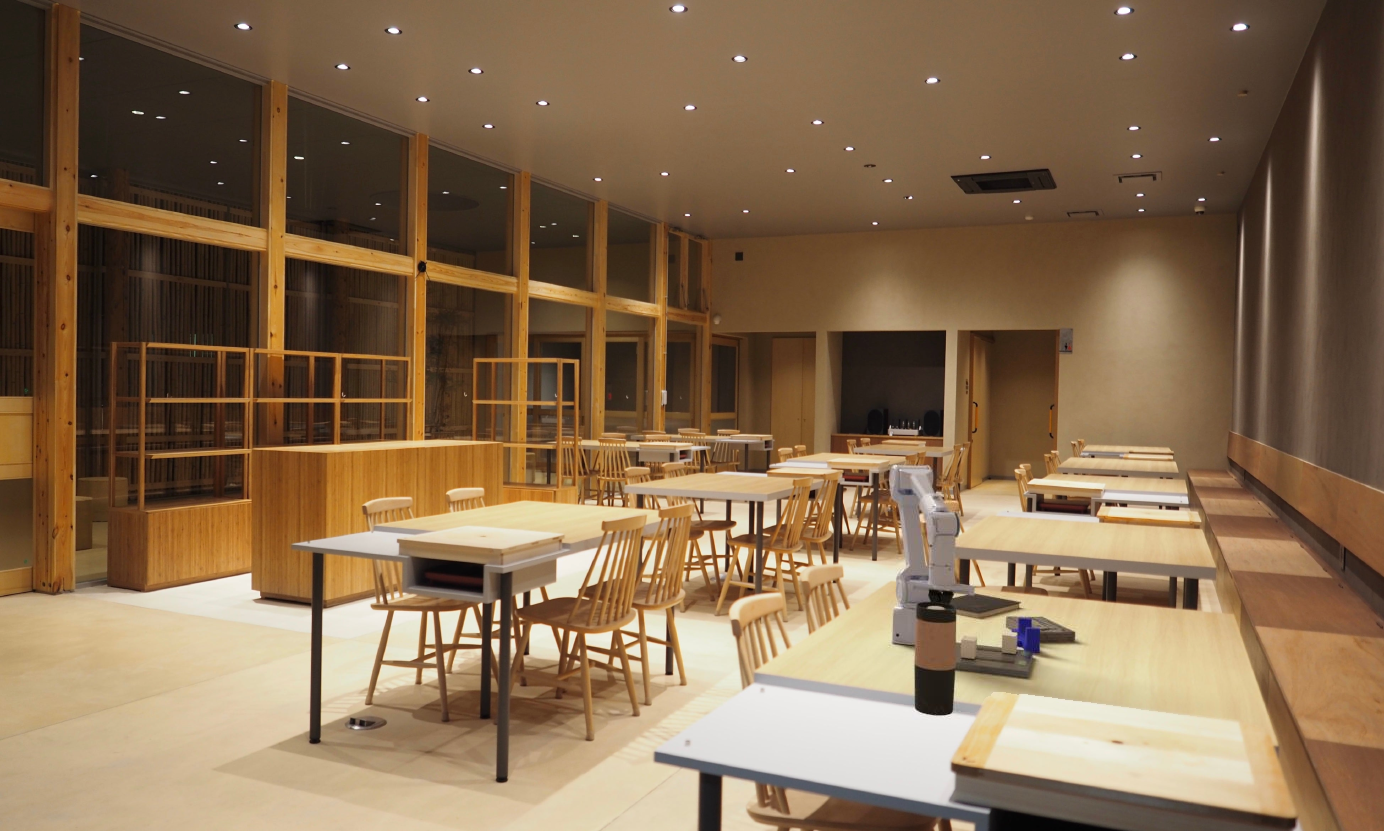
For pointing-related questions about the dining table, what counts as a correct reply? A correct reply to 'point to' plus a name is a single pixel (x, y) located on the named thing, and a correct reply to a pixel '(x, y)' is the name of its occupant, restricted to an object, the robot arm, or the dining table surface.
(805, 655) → the dining table surface
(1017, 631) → the cable clip
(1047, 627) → the grey flat block
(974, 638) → the breaker
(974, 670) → the breaker panel
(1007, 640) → the on breaker
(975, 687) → the dining table surface
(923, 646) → the travel mug
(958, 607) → the hardcover book
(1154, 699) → the dining table surface
